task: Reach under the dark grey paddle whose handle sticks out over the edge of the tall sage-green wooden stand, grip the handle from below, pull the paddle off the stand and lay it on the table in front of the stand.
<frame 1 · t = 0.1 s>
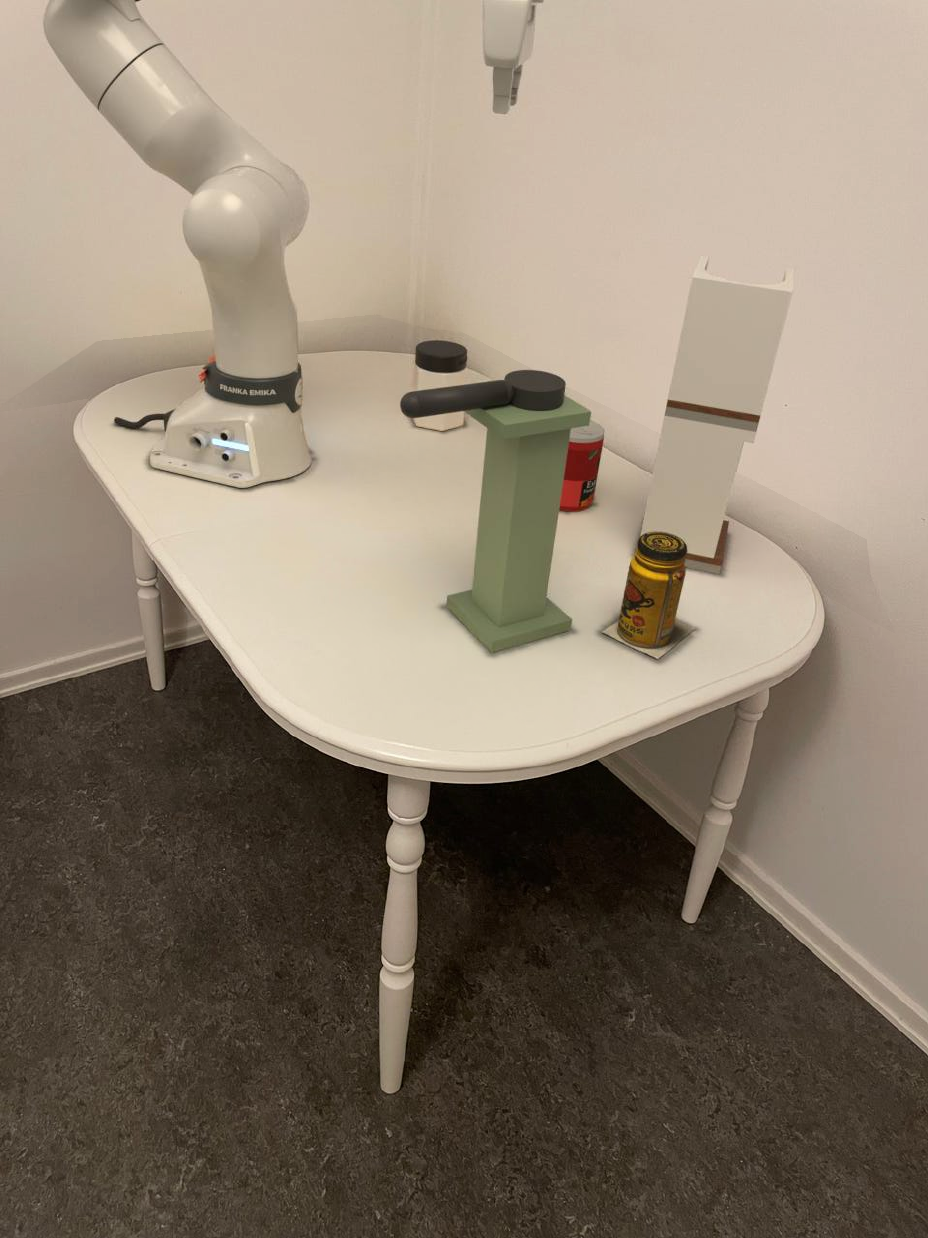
hand: (505, 108, 110), 48 cm above the table, tool pointing down, fingers open, 8 cm apart
canned food: (564, 501, 136), on the table
jar: (436, 421, 156), on the table
stand: (498, 620, 109), on the table
dark grey paddle: (493, 405, 93), point 26 cm above the table, touching stand
condiment: (648, 633, 109), on the table
white channel column: (681, 546, 127), on the table
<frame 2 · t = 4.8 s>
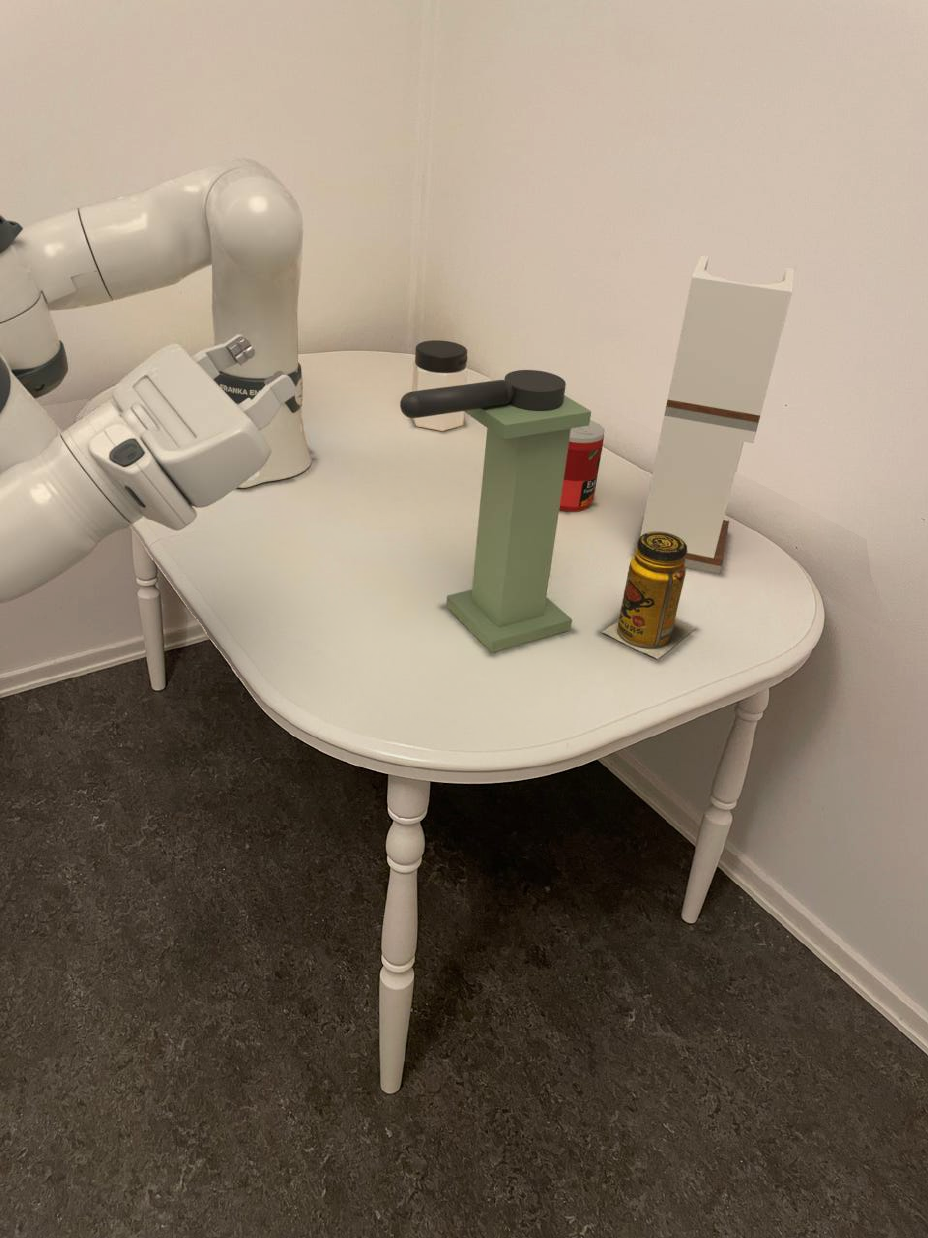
hand: (269, 360, 79), 33 cm above the table, tool pointing upward, fingers open, 8 cm apart
nothing on the table moved.
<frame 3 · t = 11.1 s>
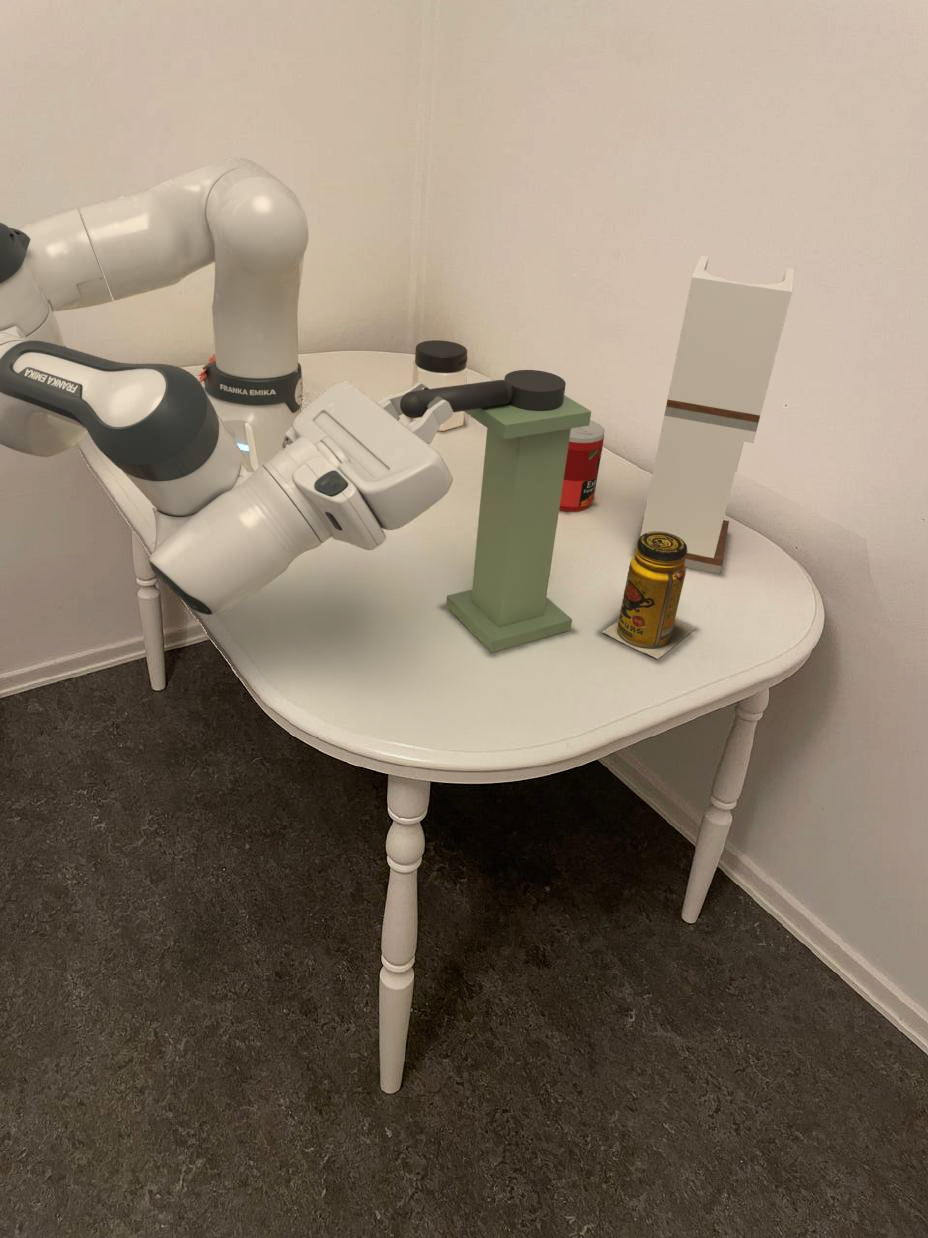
hand: (437, 397, 89), 28 cm above the table, tool pointing upward, fingers closed on dark grey paddle, 2 cm apart
dark grey paddle: (493, 405, 93), point 26 cm above the table, touching gripper, stand
everything else where it was.
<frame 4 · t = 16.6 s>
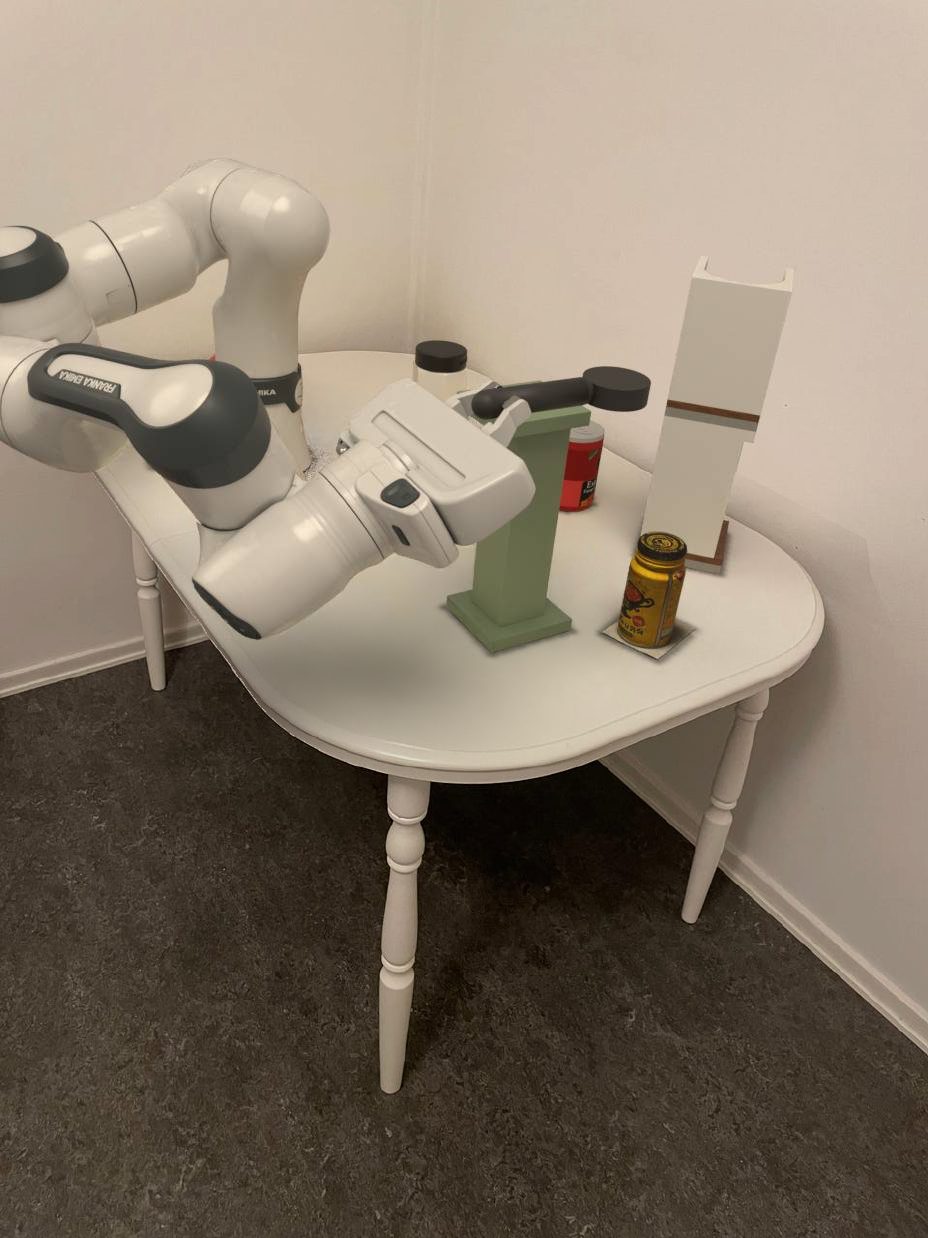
hand: (512, 396, 79), 32 cm above the table, tool pointing upward, fingers closed on dark grey paddle, 2 cm apart
dark grey paddle: (571, 405, 83), point 30 cm above the table, touching gripper
everything else where it was.
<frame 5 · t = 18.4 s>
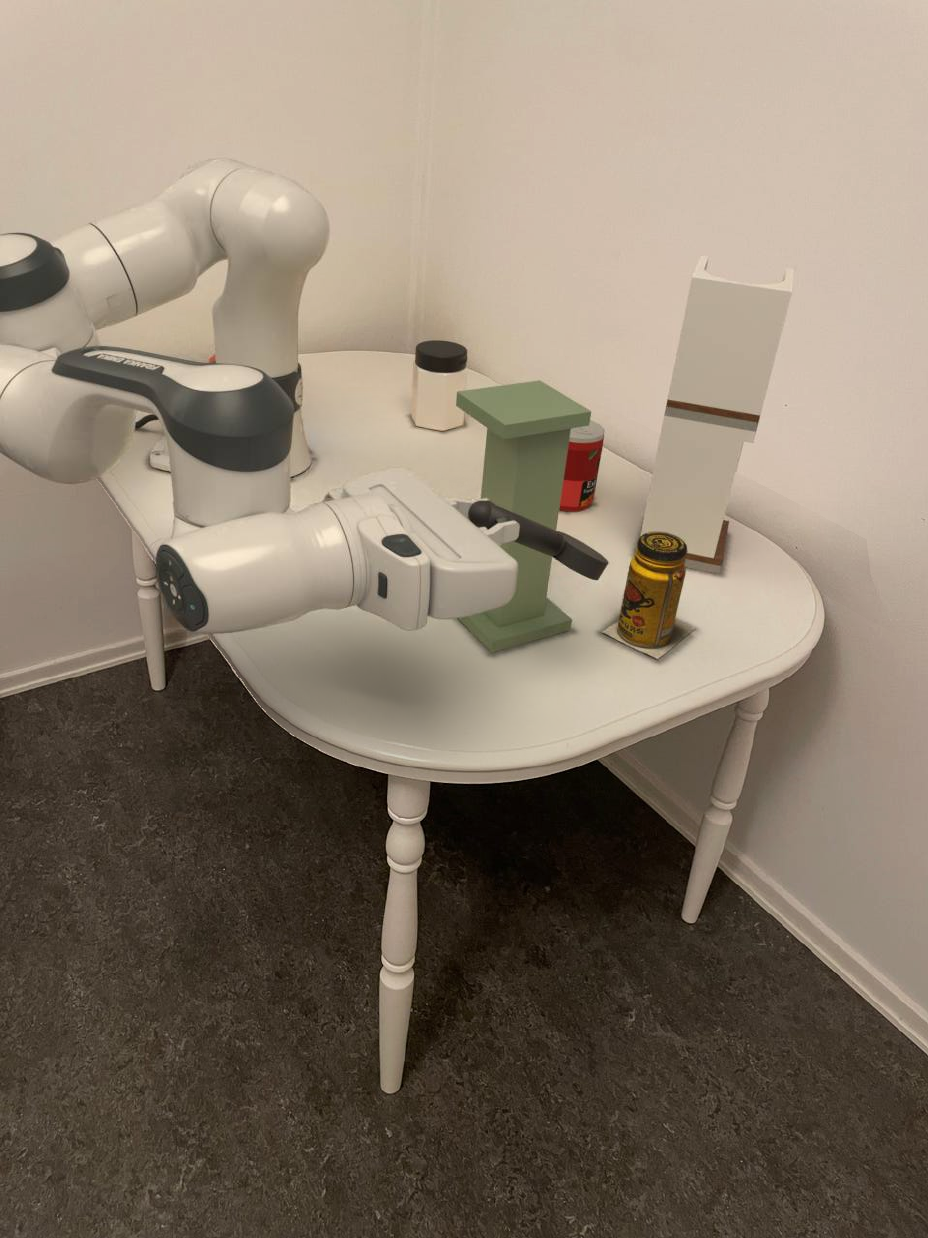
hand: (503, 518, 86), 20 cm above the table, tool horizontal, fingers closed on dark grey paddle, 2 cm apart
dark grey paddle: (540, 551, 91), point 16 cm above the table, tilted 30°, touching gripper
everything else where it was.
when the fingers open (8 cm above the table, at t = 22.1 s): dark grey paddle drops 4 cm, on the table.
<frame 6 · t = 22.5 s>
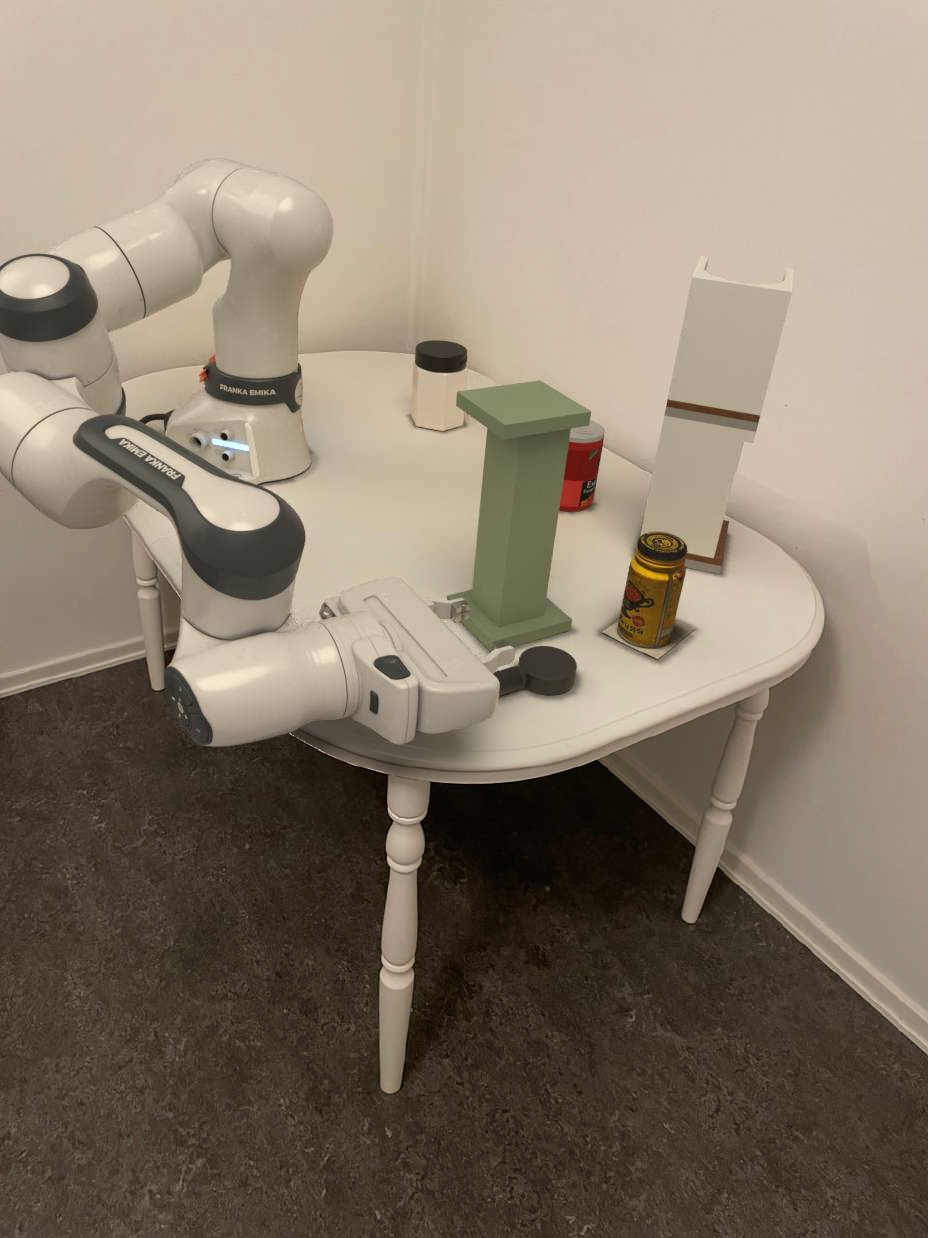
hand: (488, 628, 92), 8 cm above the table, tool horizontal, fingers open, 7 cm apart
dark grey paddle: (508, 689, 98), on the table
everything else where it was.
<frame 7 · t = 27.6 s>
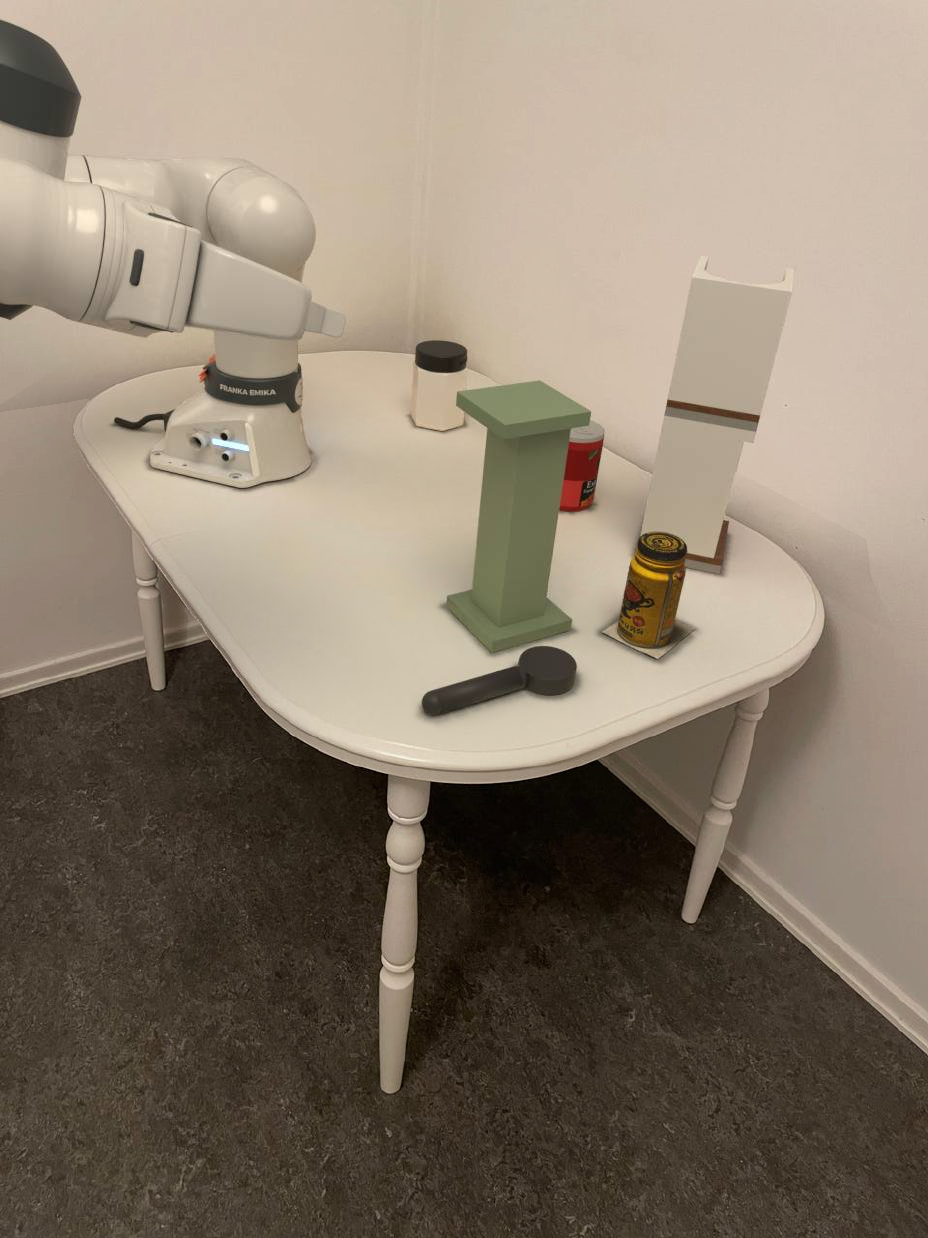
hand: (313, 318, 73), 38 cm above the table, tool tilted 70°, fingers open, 8 cm apart
nothing on the table moved.
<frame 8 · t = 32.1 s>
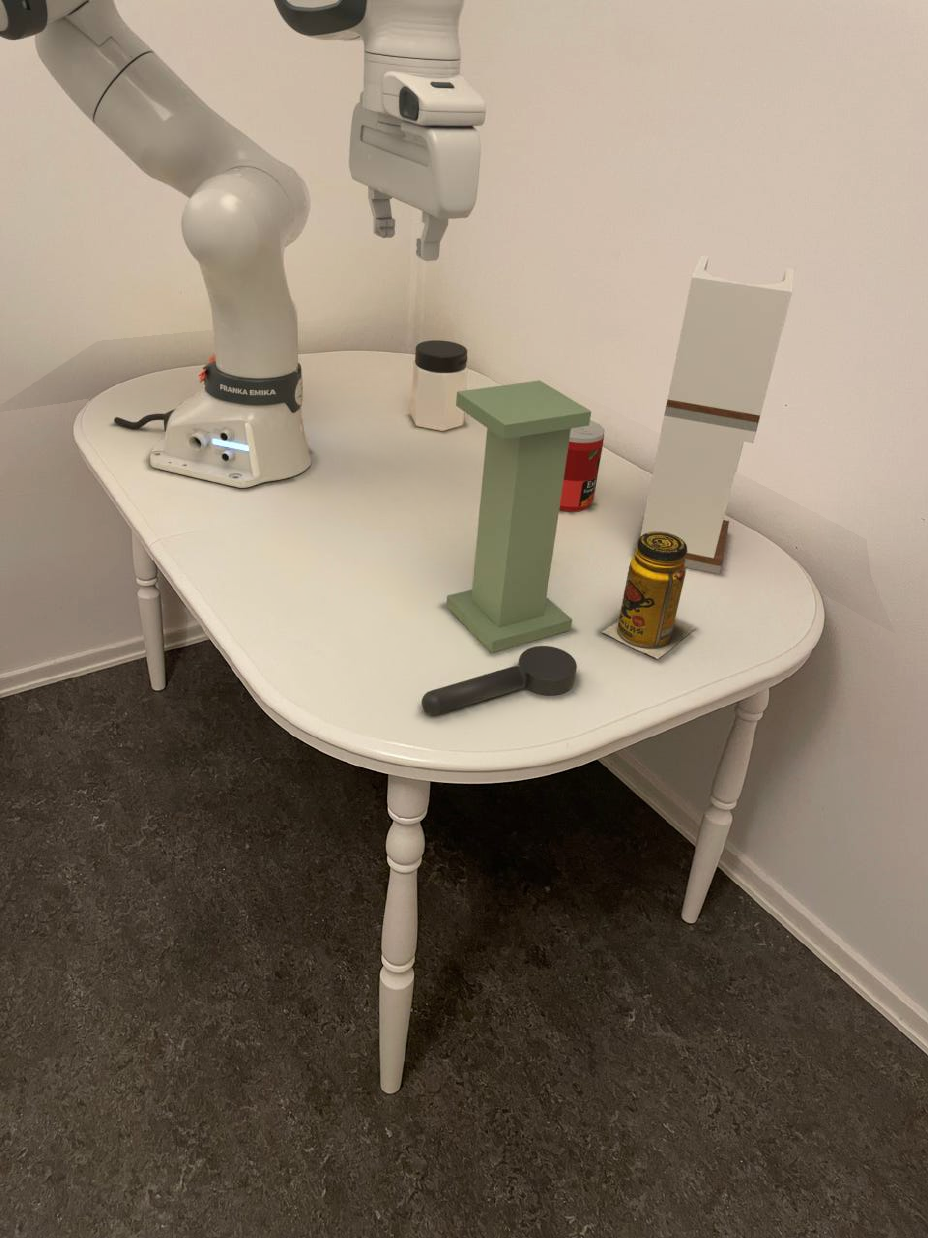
hand: (404, 247, 97), 37 cm above the table, tool pointing down, fingers open, 8 cm apart
nothing on the table moved.
at the end: dark grey paddle inside the target area on the table beside the stand (1.4 cm from its centre), on the table; dark grey paddle touching table; the gripper is holding nothing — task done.
